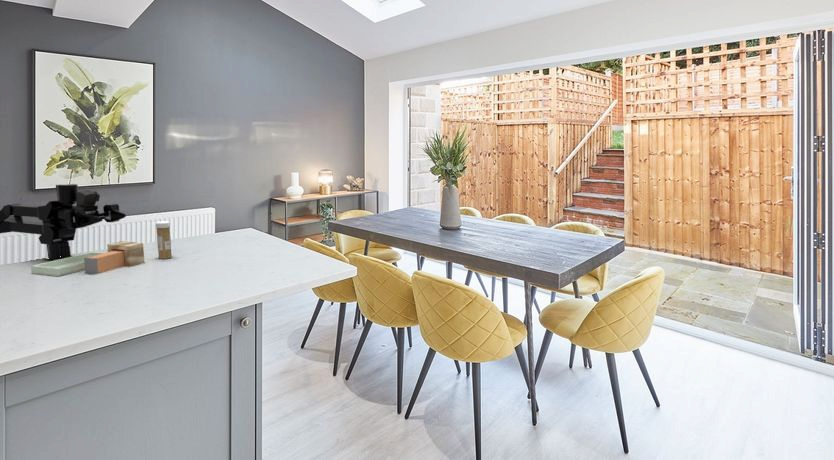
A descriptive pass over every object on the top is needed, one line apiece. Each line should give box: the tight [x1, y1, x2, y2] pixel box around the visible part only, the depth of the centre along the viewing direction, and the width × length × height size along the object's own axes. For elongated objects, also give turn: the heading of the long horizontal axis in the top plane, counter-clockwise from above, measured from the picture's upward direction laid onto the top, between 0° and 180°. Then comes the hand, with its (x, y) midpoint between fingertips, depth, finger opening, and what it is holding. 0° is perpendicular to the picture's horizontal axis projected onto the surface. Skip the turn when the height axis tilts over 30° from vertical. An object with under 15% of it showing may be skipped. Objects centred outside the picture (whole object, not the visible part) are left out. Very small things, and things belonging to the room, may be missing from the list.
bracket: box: [106, 240, 145, 267], centre depth 161 cm, size 9×6×7 cm, turn 77°
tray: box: [30, 251, 103, 277], centre depth 155 cm, size 11×22×2 cm, turn 167°
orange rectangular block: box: [84, 249, 127, 275], centre depth 155 cm, size 4×14×5 cm, turn 167°
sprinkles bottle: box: [155, 220, 173, 260], centre depth 170 cm, size 5×5×14 cm
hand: (113, 217), depth 156 cm, fingers open, 9 cm apart
